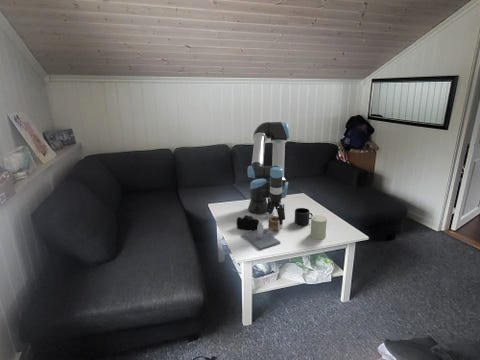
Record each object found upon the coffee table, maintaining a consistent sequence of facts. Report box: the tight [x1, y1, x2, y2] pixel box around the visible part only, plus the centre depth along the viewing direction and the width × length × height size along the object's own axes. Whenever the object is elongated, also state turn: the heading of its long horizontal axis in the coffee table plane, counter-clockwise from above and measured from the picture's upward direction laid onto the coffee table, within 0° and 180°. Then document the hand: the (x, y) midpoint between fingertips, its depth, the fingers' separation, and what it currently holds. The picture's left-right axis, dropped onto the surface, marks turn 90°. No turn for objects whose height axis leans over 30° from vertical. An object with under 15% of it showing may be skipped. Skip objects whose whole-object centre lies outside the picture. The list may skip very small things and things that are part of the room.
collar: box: [267, 215, 279, 230], centre depth 186 cm, size 8×8×5 cm
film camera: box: [236, 214, 260, 232], centre depth 190 cm, size 15×10×9 cm, turn 71°
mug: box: [294, 207, 314, 227], centre depth 194 cm, size 9×12×9 cm
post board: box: [241, 221, 281, 251], centre depth 174 cm, size 20×14×11 cm
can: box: [309, 214, 328, 240], centre depth 177 cm, size 9×9×12 cm
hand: (275, 225), depth 187 cm, fingers closed on collar, 8 cm apart
